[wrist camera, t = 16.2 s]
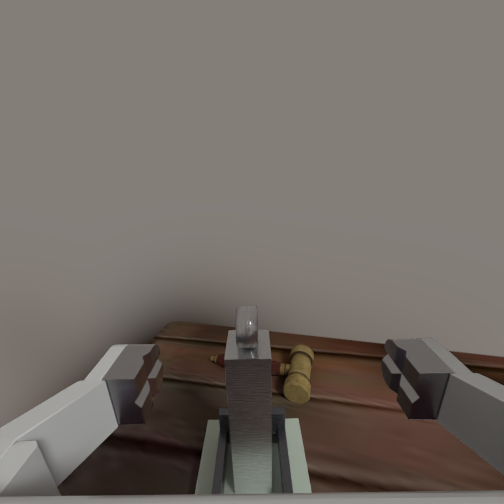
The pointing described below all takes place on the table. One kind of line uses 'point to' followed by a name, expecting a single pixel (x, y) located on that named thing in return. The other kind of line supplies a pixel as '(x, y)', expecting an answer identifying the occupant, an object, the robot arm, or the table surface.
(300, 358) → the gavel
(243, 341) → the steel link
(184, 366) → the table surface
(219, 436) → the keeper bracket
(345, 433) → the table surface
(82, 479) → the table surface
